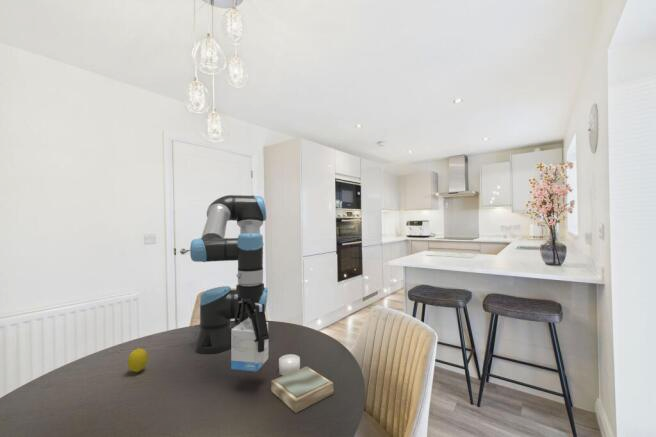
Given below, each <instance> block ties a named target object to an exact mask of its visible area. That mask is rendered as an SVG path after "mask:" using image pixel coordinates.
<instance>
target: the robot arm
mask: <svg viewBox="0 0 656 437" xmlns="http://www.w3.org/2000/svg"><path fill="white" fill-rule="evenodd" d="M206 218H207V219H206V222H205V225H204V228H203V231H202V234H201V237H200V238H193V239H192V240H191V242H190V246H189V247H190V248H189V255H190V259H191V260H192V261H193V262H194V263H195V262H198V263H206V262H226V261H227V262H228V261H237V274H236V278H237V284H236V286H235V287H236V288H235V289H232V288H231V287H230V286H228V285H227V286H225V285H224V286H218V287H214V288H213V287H212V288H209V289H207V290H204V291H203V292H202V293H201V295H200V298H199V299H200V300H199V301H200V302H199V309H200V310H199V311H200V312H199V331H198V334H197V337H196V340H195V344H194V350H195V352H196V353H199V354H202V355H203V354H204V355H209V354H210V355H211V354H212V355H213V354H219V353H222V352H225V351H227V350H230V349H231V329H233V328H232V326H231V325H232V324H231V323H232V322H231V320H234V325H236V326H237V325H239V324H240V323H241V322H243V321H244V320H246V319H247V318H250V319H251V321H252V325H253V329H254V333H255V337H256V339H255V340H254V342H255V364H257V363H260V362H263V361H264V340H266V339H268V340H269V328H268V329H267V323H266V322H267V319H266V310H267V309H266V308H267V303H268V289H269V288H268V287H265V283H264V267H263V265H264V263H263V262H264V261H263V260H264V258H263V257H264V236H263V234H261V227H262V226H263V225H264V222H265V221H266V220H267V209H266V203H265V199H264V197H262V196H261V195H254V194H253V195H239V194H237V195H234V194H231V195H230V194H229V195H224V196H221V197H219V198H217V199H215V200H214V201H213V202H211V203H210V205H208V207H207V210H206ZM228 221H235V222H236V226H238V227H239V228H240V229H239V230H240V231H239V232H240V234H238V236H237V237H235V238H233V237H231V238H229V237H228V238H227V237H226V238H225V235H226V230H227V224H228V223H227V222H228Z"/></svg>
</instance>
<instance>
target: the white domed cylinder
mask: <svg viewBox="0 0 656 437" xmlns="http://www.w3.org/2000/svg"><path fill="white" fill-rule="evenodd" d="M299 369H301V357H300V356H299V355H297V354H292V353H291V354H284V355H282V356H280V357H279V359H278V374H279V375H281V376H284V375H287V374H289V373H292V372H294V371H296V370H299Z"/></svg>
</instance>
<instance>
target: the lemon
mask: <svg viewBox="0 0 656 437" xmlns="http://www.w3.org/2000/svg"><path fill="white" fill-rule="evenodd" d="M147 363H148V354H147V351H146V350H145V349H143V348H139V347H138V348H136V349H134V350H133V351H131V353H130V354H129V356H128V358H127V367H128V369H129V371H131V372H135V373H139V372H140V371H142V370H143V369H144V368H145V367H146V366H147Z"/></svg>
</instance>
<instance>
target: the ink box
mask: <svg viewBox="0 0 656 437" xmlns="http://www.w3.org/2000/svg"><path fill="white" fill-rule="evenodd" d="M266 323H267V329H268V330H269V322H268V321H266ZM255 339H256V337H255V333H254V329H253V325H252V321H251V319H250V318H249V317H248V318H247V319H246V320H244V321H243V322H241V323H240V324H239V325H237V324H236V326H233V328H232V329H231V348H230V349H231V350H230V351H231V352H230V353H231V355H230V357H231V360H230V364H231V365H230V368H231V370H237V371H248V372H258V371H259V369H260V368H261V367H262V366H263V365H264V364H265V363H266V362H267V361H268V359H269V339H266V340H264V361H263V362H260V363H257V364H255V342H254V340H255Z"/></svg>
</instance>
